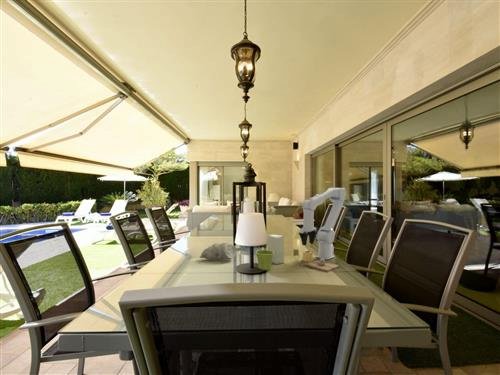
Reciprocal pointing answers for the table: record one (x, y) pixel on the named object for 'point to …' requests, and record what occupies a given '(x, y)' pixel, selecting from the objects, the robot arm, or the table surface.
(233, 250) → the seashell
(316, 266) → the post board
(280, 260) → the skincare box
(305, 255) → the cap
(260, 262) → the plant pot
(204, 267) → the table surface
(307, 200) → the robot arm
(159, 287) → the table surface
